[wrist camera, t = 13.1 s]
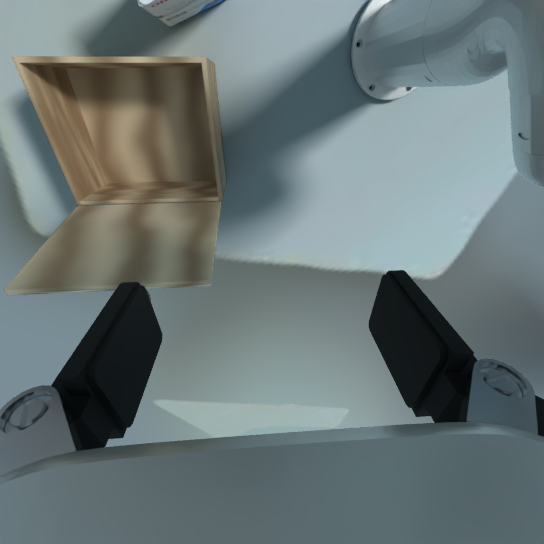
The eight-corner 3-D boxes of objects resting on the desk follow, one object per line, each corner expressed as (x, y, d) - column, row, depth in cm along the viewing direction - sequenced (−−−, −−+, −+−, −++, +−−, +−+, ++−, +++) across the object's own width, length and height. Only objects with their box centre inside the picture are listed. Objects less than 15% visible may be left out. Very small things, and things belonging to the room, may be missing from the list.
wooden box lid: (209, 282, 26) (218, 321, 31) (220, 201, 37) (225, 238, 42) (1, 292, 25) (43, 330, 29) (77, 205, 36) (99, 243, 41)
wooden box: (214, 63, 36) (205, 56, 28) (226, 182, 45) (222, 200, 38) (61, 63, 35) (11, 56, 27) (106, 185, 44) (77, 204, 36)
